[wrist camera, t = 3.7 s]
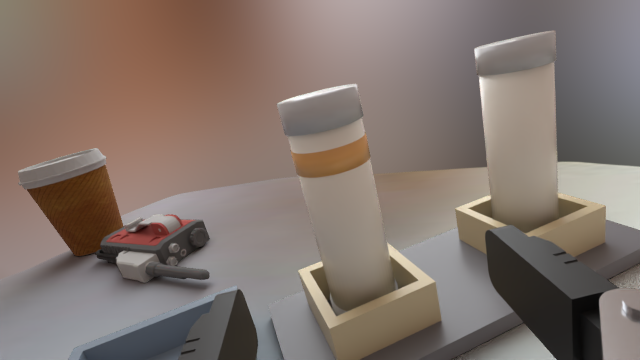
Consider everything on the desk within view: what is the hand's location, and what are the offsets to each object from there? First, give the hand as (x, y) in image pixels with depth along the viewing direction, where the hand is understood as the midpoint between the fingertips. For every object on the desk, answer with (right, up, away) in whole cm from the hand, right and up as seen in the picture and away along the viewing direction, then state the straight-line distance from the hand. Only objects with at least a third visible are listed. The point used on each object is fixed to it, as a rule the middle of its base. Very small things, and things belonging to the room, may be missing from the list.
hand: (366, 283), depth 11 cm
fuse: (+12, -1, +12) cm, 18 cm away
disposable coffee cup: (-31, -5, +36) cm, 48 cm away
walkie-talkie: (-18, -5, +27) cm, 33 cm away
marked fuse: (+1, -4, +10) cm, 11 cm away
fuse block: (+7, -4, +11) cm, 14 cm away
